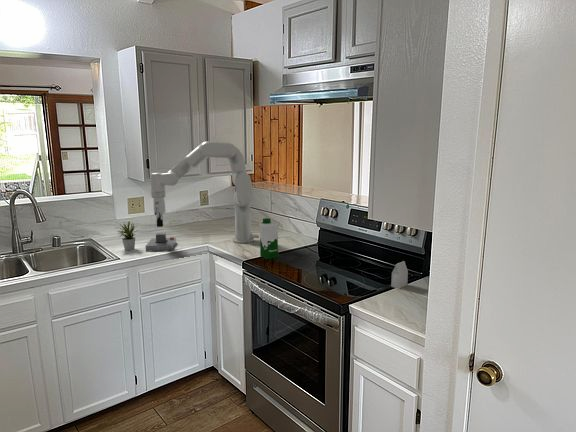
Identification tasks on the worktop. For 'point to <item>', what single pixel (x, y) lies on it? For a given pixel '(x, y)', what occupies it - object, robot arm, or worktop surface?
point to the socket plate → (161, 245)
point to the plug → (161, 238)
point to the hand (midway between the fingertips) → (160, 226)
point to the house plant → (128, 236)
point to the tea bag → (399, 275)
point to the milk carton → (268, 239)
